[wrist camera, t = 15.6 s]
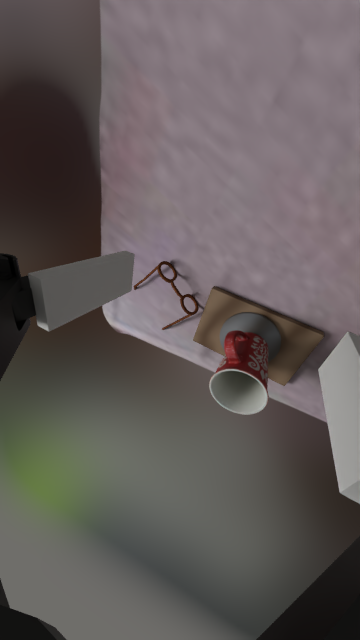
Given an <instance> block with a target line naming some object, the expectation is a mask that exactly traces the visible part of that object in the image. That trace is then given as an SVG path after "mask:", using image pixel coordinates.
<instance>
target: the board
mask: <svg viewBox="0 0 360 640" xmlns="http://www.w3.org/2000/svg"><path fill="white" fill-rule="evenodd" d="M235 330H240V331H242V332H244V333H246V332H249V333H255V334H257V335H259V336H261V337H262V338H263V339H264V340H265V341H266V343H267V345H268V378H269V379H271V380H273V381H275V382H277V383H279V384H281V385H283V386H285V385H286V383H287V382H288V381H289V380H290V378H291V377H292V376H293V375H294V373H295V372H296V371H297V370H298V368H299V367H300V366H301V365H302V363H303V362H304V361H305V360H306V358H307V357H308V356H309V355H310V353H311V352H312V351H313V350H314V348H315V347H316V346H317V345H318V343H319V342H320V341H321V340H322V338H323V337H324V333H323V332H322V331H319V330H317V329H315V328H312V327H310V326H307V325H305V324H303V323H300V322H298V321H296V320H293V319H291V318H288V317H286V316H284V315H281V314H279V313H277V312H274V311H272V310H269V309H267V308H265V307H262V306H260V305H258V304H255V303H253V302H250V301H248V300H246V299H243V298H241V297H239V296H236V295H234V294H231V293H229V292H227V291H224V290H222V289H220V288H217V287H215V286H214V287H213V288H212V290H211V292H210V295H209V298H208V301H207V303H206V306H205V309H204V311H203V314H202V317H201V320H200V322H199V325H198V328H197V331H196V333H195V336H194V339H193V341H195V342H197V343H199V344H201V345H203V346H205V347H207V348H209V349H211V350H213V351H215V352H217V353H219V354H221V355H223V356H225V350H224V340H225V337H226V335H227V333H228V332H230V331H235Z"/></svg>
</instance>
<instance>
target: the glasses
mask: <svg viewBox="0 0 360 640" xmlns="http://www.w3.org/2000/svg"><path fill="white" fill-rule="evenodd" d="M163 264H166V265H168V266H169V267H170V268H171V269H172V270H173V272H174V277H173V279H167V278H166V277H165V276H164V275H163V274H162V272H161V265H163ZM157 269H158V273H159V275H160V276H161V277H162V279H163V280H165V281H166V282H168V283H171V285H172V287H173V289H174V290H175V292H176V293H177V295H178V296H179V297H181V299H180V303H181V306H182V308H183V310H184V311H185V312H186V313H187V314H189V315H187V316H185V317H183V318H181V319H179V320H177V321H175V322H173V323H171V324H169V325H167V326H166V327H164V328H162V330H164V329H165V328H167V327H169V326H172V325H174V324H176V323H178V322H180V321H181V320H183V319H185V318H187V317H189V316H191V315H194V314H196V313H197V311H198V303H197V301H196V300H195V298H194V297H193V296H192V295H190V294H186V295H184V296H182V295H181V294H180V292H179V291H178V289H177V288H176V286H175V285H174V282H173V281H174V280H175V279H176V278H177V272H176V270H175V269H174V267H173V266H172V264H170V263H169V262H167V261H163V262H161V263H160V264H159V265H158V266H157V267H156V268H155V269H154V270H152V271H151V272H150V273H149V274H148V275H147V276H146V277H145V278H144V279H143V280H141V281H140V282H139V283H137V284H136V285H135V286H134V290H136V289H137V286H138V285H139V284H140V283H142V282H143V281H144V280H146V279H147V278H148V277H149V276H150V275H151V274H152V273H154V272H155V271H156V270H157ZM185 297H189V298H191V299H192V300H193V301H194V303H195V307H196V308H195V311H194V312H189V311H188V310H187V309H186V307H185V306H184V298H185Z"/></svg>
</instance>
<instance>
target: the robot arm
mask: <svg viewBox="0 0 360 640" xmlns="http://www.w3.org/2000/svg"><path fill="white" fill-rule="evenodd" d="M133 266H134V254H133V253H130V252H127V251H122V252H118V253H113V254H109V255H105V256H100V257H97V258H92V259H88V260H84V261H79V262H75V263H71V264H67V265H62V266H58V267H53V268H49V269H45V270H41V271H36V272H32V273H28V276H24V277H21V275H20V270H19V266H18V261H17V258H16V257H15V256H13V255H9V254H2V253H0V380H1V378H2V376H3V374H4V372H5V371H6V369H7V367H8V365H9V363H10V361H11V359H12V358H13V356H14V354H15V352H16V350H17V348H18V346H19V345H20V342H21V341H22V339H23V337H24V335H25V333H26V332H27V330H28V328H29V326H30V317H33V316H35V315H36V318H37V324H38V326H40V327H42V328H43V329H45V330H47V331H51V330H53V329H55V328H57V327H59V326H61V325H63V324H65V323H67V322H69V321H71V320H73V319H75V318H77V317H79V316H81V315H83V314H85V313H87V312H89V311H91V310H94V309H96V308H97V307H100V306H102V305H104V304H106V303H108V302H110V301H112V300H114V299H116V298H118V297H120V296H122V295H124V294H126V293H128V292H130V291H131V289H132V277H133ZM318 371H319V377H320V382H321V388H322V394H323V400H324V405H325V411H326V417H327V422H328V428H329V433H330V439H331V445H332V451H333V457H334V462H335V468H336V474H337V479H338V485H339V491H340V493H341V494H343V495H345V496H347V497H348V498H350V499H352V500H354V501H355V502H358V503H359V504H360V336H359V335H356V334H353V333H351V332H347V333H346V334H345V336H344V337H343V338H342V339H341V341H340V342H339V343H338V345H337V346H336V347H335V349H334V350H333V351H332V352H331V354H330V355H329V356H328V358H327V359H326V360H325V361H324V363H323V364H322V365H321V367H320V368H319V369H318ZM0 640H66V639H65V638H64V637H63V635H62V634H61V633H60V632H59V631H58V630H57V629H56V628H55V627H53V626H51V625H49V624H47V623H45V622H44V621H42V620H40V619H38V618H36V617H33V616H30V615H27V614H24V613H22V612H19V611H16V610H13V609H10V607H9V604H8V601H7V598H6V595H5V592H4V589H3V586H2V583H1V580H0ZM256 640H360V536H359V537H358V538H357V539H356V540H355V541H354V542H353V543H352V544H351V545H350V546H349V547H348V548H347V549H346V550H345V551H344V552H343V553H342V554H341V555H340V556H339V557H338V558H337V559H336V560H335V561H334V562H333V563H332V564H331V565H330V566H329V567H328V568H327V569H326V570H325V571H324V572H323V573H322V574H321V575H320V576H319V577H318V578H317V579H316V580H315V581H314V582H313V583H312V584H311V585H310V586H309V587H308V588H307V589H306V590H305V591H304V592H303V593H302V594H301V595H300V596H299V597H298V598H297V599H296V600H295V601H294V602H293V603H292V604H291V605H290V606H289V607H288V608H287V609H286V610H285V611H284V613H282V614H281V615H280V617H278V618H277V619H276V620H275V621H274V623H272V624H271V625H270V626H269V628H267V629H266V630H265V631H264V632H263V633H262V635H260V637H258V638H257V639H256Z"/></svg>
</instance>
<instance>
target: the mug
mask: <svg viewBox="0 0 360 640" xmlns="http://www.w3.org/2000/svg"><path fill="white" fill-rule="evenodd" d="M224 350H225V356H224V358H223V360H222V362H221V363H220V365H219V367H218V369H217V371H216V373H215V374H214V375H213V376H212V378H211V380H210V384H209V386H210V392H211V394H212V396H213V397H214V399H215V400H216V401H217V402H218V403H219V404H220V405H221V406H223V407H224V408H226V409H228V410H230V411H232V412H235V413H239V414H255V413H258V412H260V411H262V410H263V409H264V408H265V407H266V405H267V403H268V391H267V382H268V345H267V343H266V341H265V340H264V339H263V338H262V337H261V336H259V335H257V334H255V333H249V332H246V333H244V332H242V331H240V330H235V331H230V332H228V333H227V335H226V337H225V340H224Z"/></svg>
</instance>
